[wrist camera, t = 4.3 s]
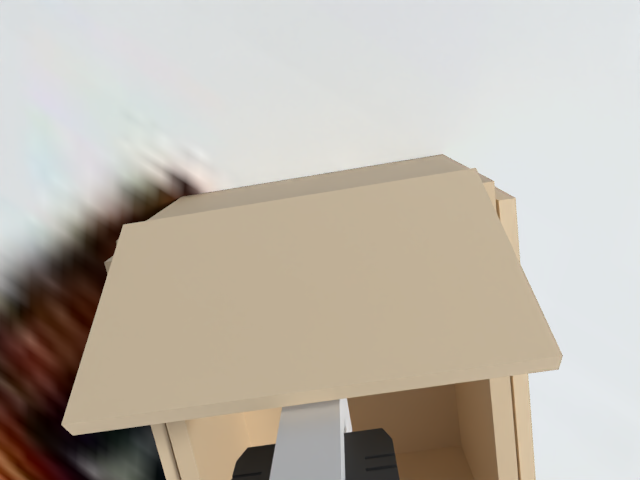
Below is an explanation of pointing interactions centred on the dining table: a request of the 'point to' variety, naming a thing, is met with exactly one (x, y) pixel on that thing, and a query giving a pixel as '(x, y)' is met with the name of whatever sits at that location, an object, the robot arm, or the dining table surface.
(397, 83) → the dining table surface
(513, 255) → the flap
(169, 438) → the carton
